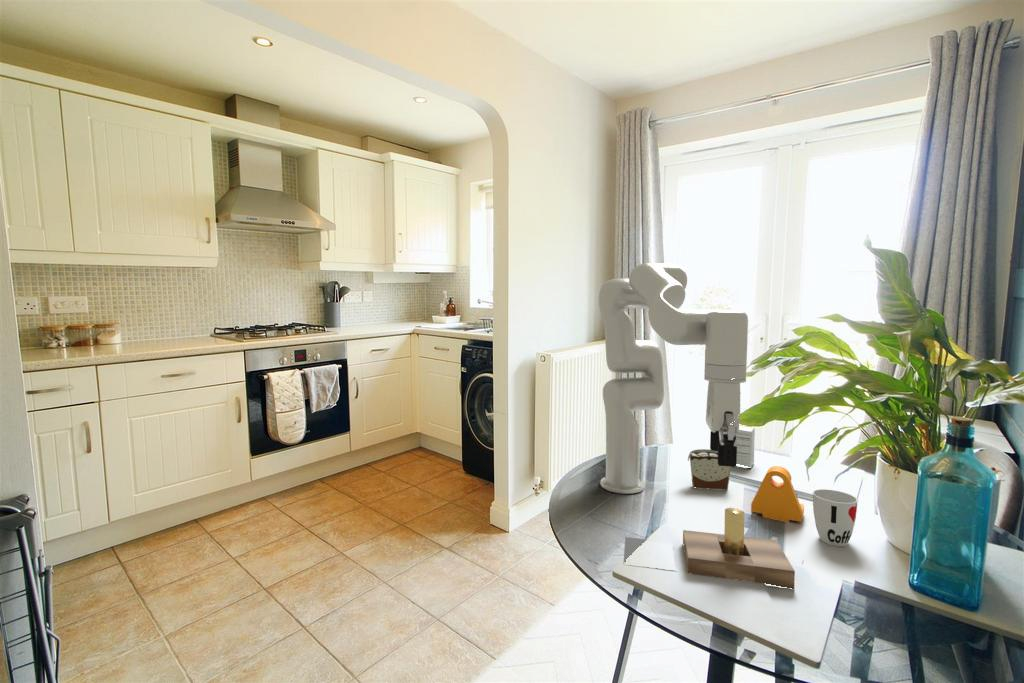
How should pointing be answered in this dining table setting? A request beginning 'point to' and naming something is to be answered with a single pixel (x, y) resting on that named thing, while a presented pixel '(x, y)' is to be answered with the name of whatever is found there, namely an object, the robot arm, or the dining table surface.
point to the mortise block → (738, 559)
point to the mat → (632, 546)
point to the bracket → (777, 497)
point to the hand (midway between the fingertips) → (722, 457)
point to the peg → (734, 532)
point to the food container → (708, 470)
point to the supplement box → (745, 446)
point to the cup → (834, 515)
